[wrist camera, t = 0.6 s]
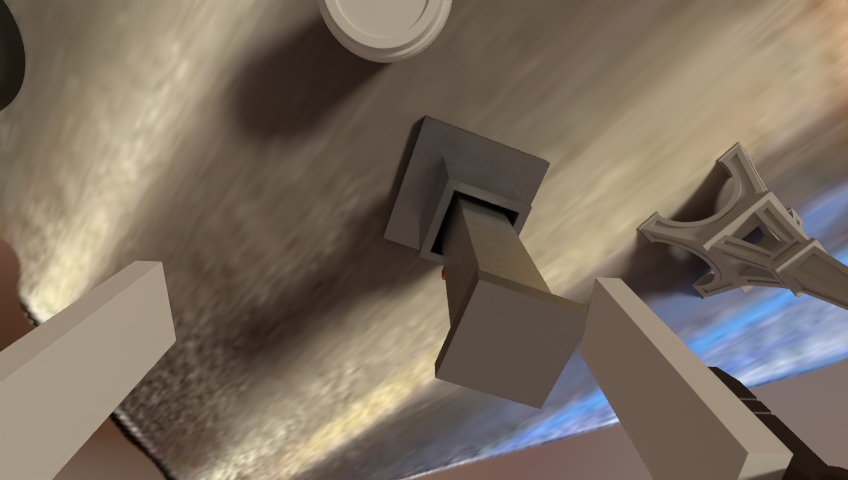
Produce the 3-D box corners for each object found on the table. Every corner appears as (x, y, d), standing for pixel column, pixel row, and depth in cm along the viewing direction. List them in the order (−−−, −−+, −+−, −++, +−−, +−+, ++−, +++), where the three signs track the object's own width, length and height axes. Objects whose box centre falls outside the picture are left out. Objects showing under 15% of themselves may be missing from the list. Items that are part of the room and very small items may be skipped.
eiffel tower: (737, 141, 47) (1204, 239, 19) (801, 222, 50) (1281, 407, 22) (637, 227, 50) (906, 417, 22) (703, 297, 54) (1012, 541, 26)
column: (428, 217, 48) (435, 377, 23) (448, 166, 46) (479, 279, 21) (479, 235, 49) (540, 409, 23) (500, 185, 47) (592, 316, 21)
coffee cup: (463, -3, 42) (484, -43, 28) (410, 85, 45) (404, 90, 31) (378, -68, 40) (354, -145, 26) (328, 29, 43) (282, 6, 29)
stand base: (384, 233, 50) (372, 280, 39) (425, 115, 46) (426, 128, 34) (495, 270, 52) (516, 326, 41) (546, 160, 47) (586, 187, 36)
